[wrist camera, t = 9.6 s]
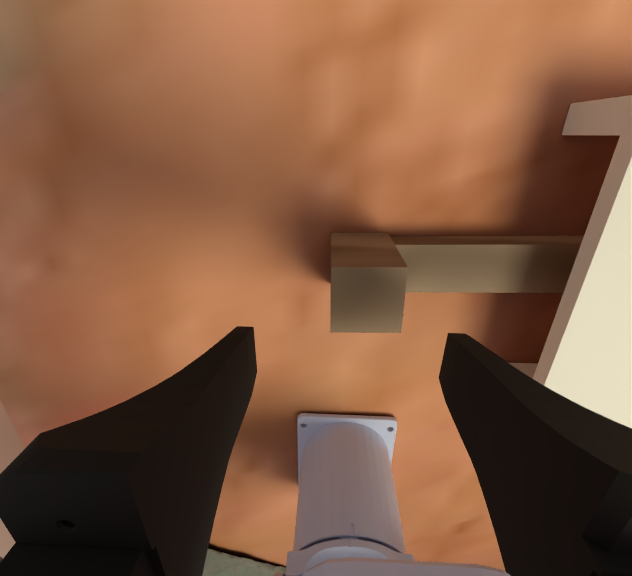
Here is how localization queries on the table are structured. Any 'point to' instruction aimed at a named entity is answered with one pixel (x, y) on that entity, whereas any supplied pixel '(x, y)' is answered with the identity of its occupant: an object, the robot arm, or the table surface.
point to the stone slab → (236, 566)
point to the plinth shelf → (597, 283)
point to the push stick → (436, 271)
